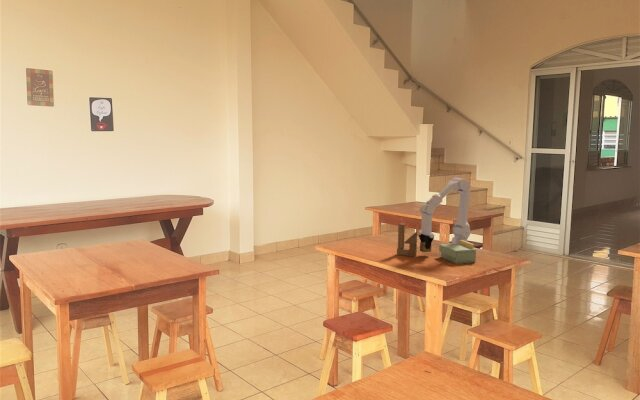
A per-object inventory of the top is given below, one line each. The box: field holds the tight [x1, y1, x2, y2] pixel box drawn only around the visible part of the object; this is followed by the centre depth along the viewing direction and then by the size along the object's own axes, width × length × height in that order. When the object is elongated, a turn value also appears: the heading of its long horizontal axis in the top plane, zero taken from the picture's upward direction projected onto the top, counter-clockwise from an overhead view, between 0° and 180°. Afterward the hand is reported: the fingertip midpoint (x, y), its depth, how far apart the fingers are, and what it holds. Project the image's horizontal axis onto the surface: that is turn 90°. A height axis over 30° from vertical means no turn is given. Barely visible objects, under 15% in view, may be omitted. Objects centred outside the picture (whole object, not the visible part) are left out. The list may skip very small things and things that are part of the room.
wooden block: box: [396, 223, 418, 258], centre depth 303 cm, size 4×11×18 cm, turn 68°
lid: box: [438, 240, 477, 258], centre depth 294 cm, size 16×13×6 cm
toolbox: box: [440, 250, 477, 265], centre depth 295 cm, size 16×12×6 cm
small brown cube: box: [419, 241, 432, 253], centre depth 303 cm, size 4×5×5 cm
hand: (425, 248), depth 303 cm, fingers closed on small brown cube, 4 cm apart
